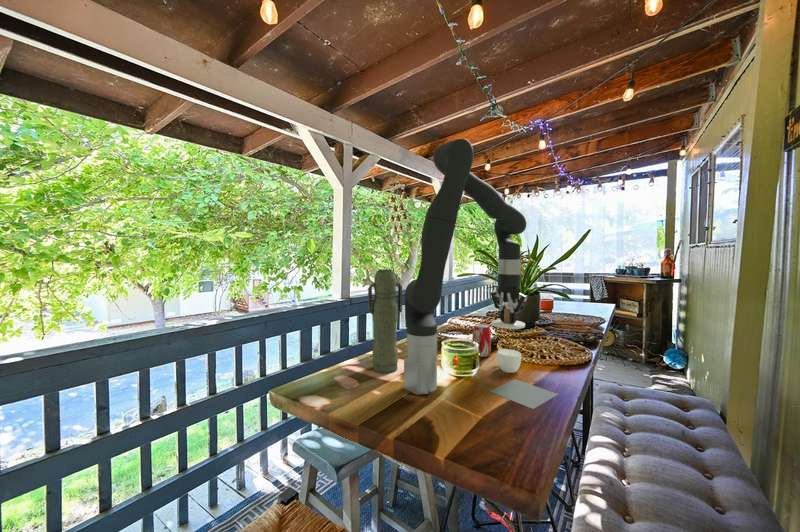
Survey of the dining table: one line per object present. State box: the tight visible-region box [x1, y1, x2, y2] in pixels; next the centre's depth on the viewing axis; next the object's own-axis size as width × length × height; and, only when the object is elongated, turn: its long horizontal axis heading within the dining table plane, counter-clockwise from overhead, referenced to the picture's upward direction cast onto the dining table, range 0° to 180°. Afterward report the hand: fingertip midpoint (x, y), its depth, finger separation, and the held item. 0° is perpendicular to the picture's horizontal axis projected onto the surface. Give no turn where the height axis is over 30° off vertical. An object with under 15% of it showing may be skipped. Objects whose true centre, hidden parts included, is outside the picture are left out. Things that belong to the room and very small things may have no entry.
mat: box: [488, 379, 559, 410], centre depth 98 cm, size 14×14×1 cm
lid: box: [491, 307, 526, 330], centre depth 116 cm, size 11×11×6 cm
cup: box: [495, 348, 522, 374], centre depth 117 cm, size 8×10×7 cm
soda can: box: [472, 323, 492, 358], centre depth 134 cm, size 7×7×12 cm
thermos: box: [367, 269, 403, 374], centre depth 118 cm, size 9×12×35 cm
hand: (508, 322), depth 116 cm, fingers closed on lid, 3 cm apart
